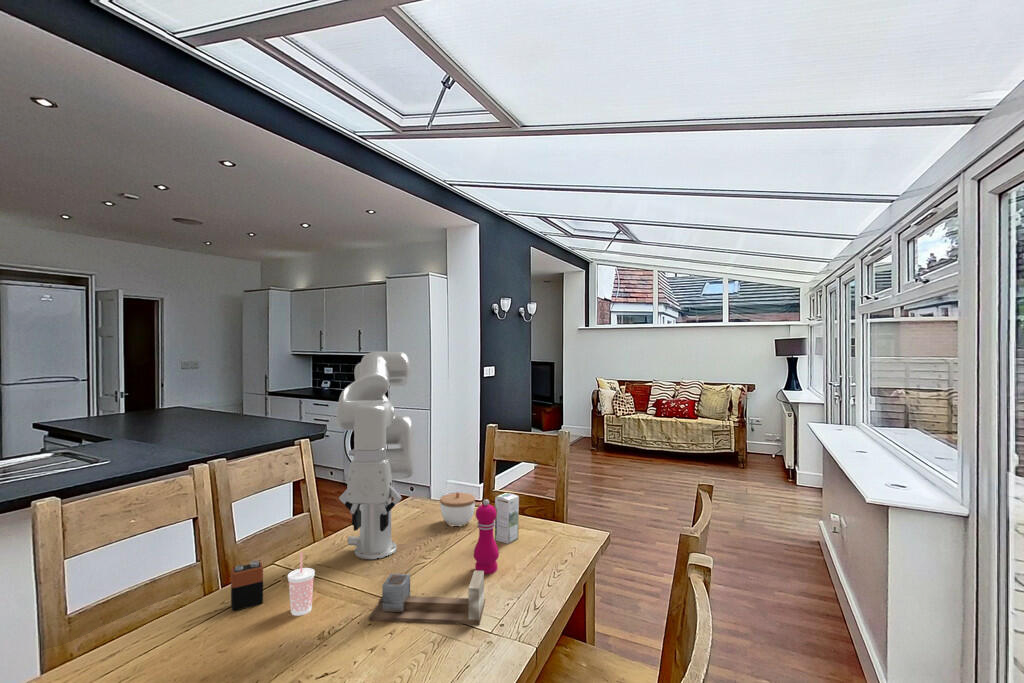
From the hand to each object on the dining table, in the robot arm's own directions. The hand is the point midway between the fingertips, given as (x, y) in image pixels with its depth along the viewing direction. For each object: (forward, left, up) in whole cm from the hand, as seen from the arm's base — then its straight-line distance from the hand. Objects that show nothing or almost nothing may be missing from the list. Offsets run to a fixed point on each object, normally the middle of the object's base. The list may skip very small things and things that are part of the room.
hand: (370, 528), depth 122 cm
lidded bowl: (+10, +59, -20) cm, 63 cm away
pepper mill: (+25, +23, -20) cm, 40 cm away
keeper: (+6, 0, -18) cm, 20 cm away
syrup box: (+29, +45, -20) cm, 57 cm away
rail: (+14, 0, -20) cm, 24 cm away
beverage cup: (-17, -2, -20) cm, 26 cm away
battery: (-32, 0, -20) cm, 37 cm away
